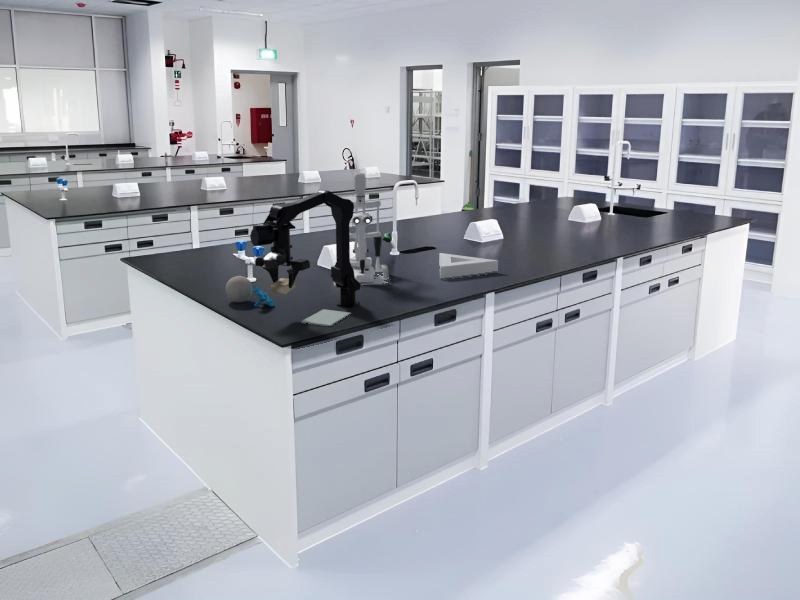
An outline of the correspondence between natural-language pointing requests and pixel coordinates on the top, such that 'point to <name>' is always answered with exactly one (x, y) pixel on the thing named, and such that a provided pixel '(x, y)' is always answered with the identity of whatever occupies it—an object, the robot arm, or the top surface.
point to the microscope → (361, 262)
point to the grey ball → (239, 289)
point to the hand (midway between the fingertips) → (283, 287)
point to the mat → (326, 317)
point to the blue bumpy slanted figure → (263, 297)
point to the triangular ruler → (464, 265)
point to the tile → (281, 286)
